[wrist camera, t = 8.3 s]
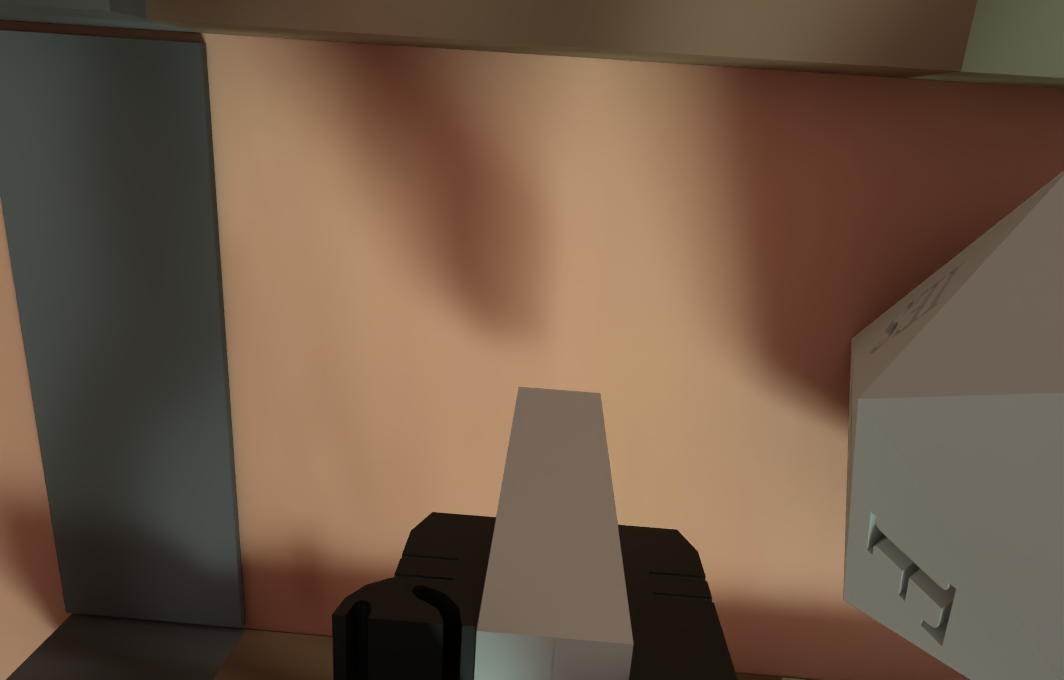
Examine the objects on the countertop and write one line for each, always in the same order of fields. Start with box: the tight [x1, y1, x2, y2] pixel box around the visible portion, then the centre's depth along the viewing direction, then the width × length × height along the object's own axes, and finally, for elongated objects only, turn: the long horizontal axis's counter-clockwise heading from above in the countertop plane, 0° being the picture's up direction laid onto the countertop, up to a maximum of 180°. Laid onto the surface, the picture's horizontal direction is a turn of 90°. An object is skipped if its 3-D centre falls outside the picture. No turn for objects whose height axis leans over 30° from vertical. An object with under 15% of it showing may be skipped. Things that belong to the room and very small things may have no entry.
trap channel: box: [0, 0, 1064, 680], centre depth 14 cm, size 38×17×3 cm, turn 87°
